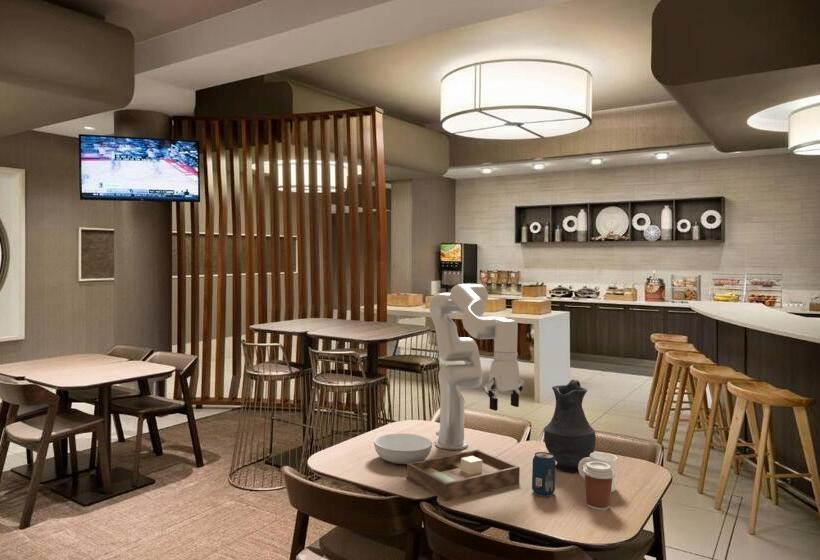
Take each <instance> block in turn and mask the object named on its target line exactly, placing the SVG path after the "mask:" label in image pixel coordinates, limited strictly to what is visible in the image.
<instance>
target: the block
mask: <svg viewBox="0 0 820 560" xmlns="http://www.w3.org/2000/svg"><path fill="white" fill-rule="evenodd" d="M461 471H463V472H465V473H468V474H470V475H472V474H476V473H481V472H482V460H481V459H479V458H477V457H474V456H469V457H464V458H461Z"/></svg>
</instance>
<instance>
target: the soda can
mask: <svg viewBox="0 0 820 560" xmlns="http://www.w3.org/2000/svg"><path fill="white" fill-rule="evenodd" d="M556 464H557V462H556V460H555V459H554V455H553V454H551V453H549V452H548V451H547V452H546V451H538V452H535V453H534V457H533V458H532V470H531V473H532V474H531V489H532V492H533V493H534V494H535V495H536V496H539V497H543V498H544V497H545V498H546V497H547V498H548V497H551V496H553V494H554V493H555V491H556V468H555V465H556Z"/></svg>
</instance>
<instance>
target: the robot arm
mask: <svg viewBox="0 0 820 560" xmlns="http://www.w3.org/2000/svg"><path fill="white" fill-rule="evenodd" d="M488 300H489V293H488V290H487V288H486V287H485V286H484V285H482V284H479V283H478V284H477V283H458V284H456V285H455V286H453V287H452V288H451V289H450V292H441V293H436V294H434V295H432V297H431V299H430V301H429V314H430V317H431V320H432V324H433V325H434V328H435V335H436V336H435V337H436V340H437V349H438V350H437V351H438V353H439V354H438V355H439V358H440V360H441V361H443V362H449V363H450V362H451V363H452V362H464V363H461V364H460V363H459V364H458V363H457V364H448V365H444V366H442V367H441V368H439V372H438V376H437V377H438V383H439V392H440V393H439V395H440V404H439V405H440V408H439V409H440V413H439V430H438V431H435V435H436V436H437V437H438V439H437V440H436V441H435V446H436V447H438V448H439V449H443V450H449V451H450V450H451V451H454V450H455V451H459V450H464V449H466V448H468V446H469V445H468V444H469V442H468V441H467V440H465V417H466V416H465V413H466V412H465V409H466V407H465V406H466V405H465V404H466V403H465V398H464V395H463V394H462V393H461V392H460V390H462V389H463V390H464V389H475V388H479V387H480V386H481V385H482V382H483V371H482V364H481V359H480V353H479V352H480V351H479V346H478V344H477V342H476V341H475V340H476V339H477V340H491V339H492V340H494V342H493V344H494V345H493V348H494V349H493V360H491V364H490V370H489V376H488V377H489V379H488V381H487V382H486V383H485V384H484V385H483V387H484V390H485V393H486V394H487V397H488V398H489V406H488V407H489V410H493V411H495V412H496V411H497V410H498V407H499V406H498V405H499V404H498V402H499V399H498V398H497V396H499V394H500V393H506V392H511V393H510V406H512V407H515V408H518V407H519V405H520V395H521V394H522V393H521V392H522V390H523V388H524V384H525V380H523V379H522V378H520V368H519V361H518V356H519V353H518V333H519V331H518V326H519V324H518V322H517V320H515V319H509V318H506V317H503V316H483V314H484V313H485V311H486V306H487V305H486V304H487V302H488ZM449 315H462V317H461V320H462V325H463V328H464V330H465V331H466V332H467V334H469V335H470V336H471V337H472V338H471V337H466V336H464V337H463V336H462V337H460V336H459V334H458V327H457V324H456V323H455V322H454V320H453V319H452V318H451V317H450V316H449Z"/></svg>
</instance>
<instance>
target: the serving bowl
mask: <svg viewBox="0 0 820 560" xmlns="http://www.w3.org/2000/svg"><path fill="white" fill-rule="evenodd" d="M373 446H374V450H375V452H376V454H377V455H378V456H379V457H380V458H381V459H382V460H384V461H386V462H390V463H393V464H395V465H396V464H397V465H407V464H408V463H413V462H418V461H423V460H426V458H427V457H428V456H429V455H430V454H431V450H432V447H433V442H432V440H430V438H427V437H425V436H422V435H419V434H413V433H400V432H399V433H389V434H383V435H379V436H377V437H375V439H374V440H373Z"/></svg>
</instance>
